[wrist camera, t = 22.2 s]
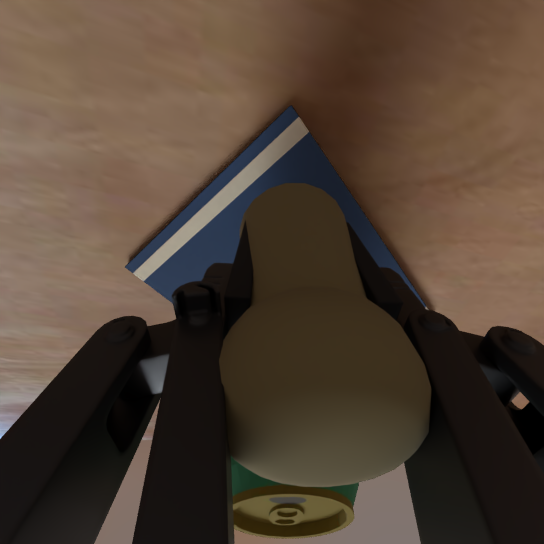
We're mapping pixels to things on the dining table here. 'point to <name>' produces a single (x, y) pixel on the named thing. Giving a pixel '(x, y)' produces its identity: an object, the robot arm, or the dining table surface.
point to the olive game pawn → (317, 355)
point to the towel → (235, 201)
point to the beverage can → (288, 506)
